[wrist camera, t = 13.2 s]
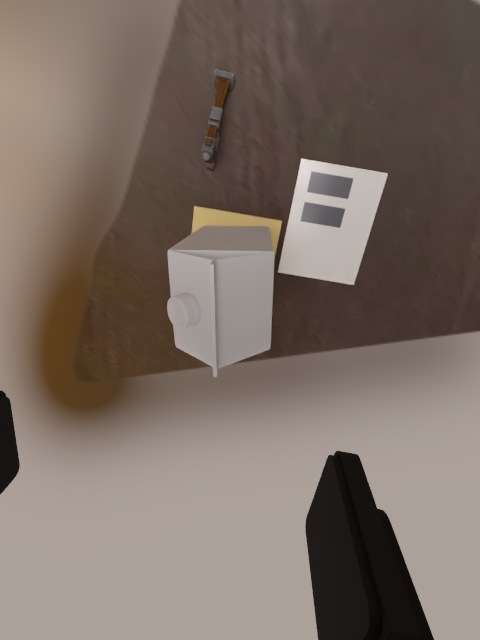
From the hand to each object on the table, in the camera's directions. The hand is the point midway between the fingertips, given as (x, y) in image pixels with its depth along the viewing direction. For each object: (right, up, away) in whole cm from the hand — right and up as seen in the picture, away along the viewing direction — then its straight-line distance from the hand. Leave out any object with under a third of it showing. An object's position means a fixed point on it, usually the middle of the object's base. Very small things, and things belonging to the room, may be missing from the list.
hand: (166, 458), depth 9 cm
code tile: (+12, +14, +26) cm, 32 cm away
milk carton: (+2, +11, +27) cm, 29 cm away
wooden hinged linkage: (0, +24, +23) cm, 33 cm away
